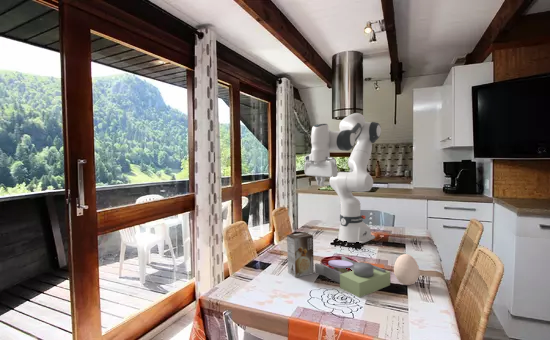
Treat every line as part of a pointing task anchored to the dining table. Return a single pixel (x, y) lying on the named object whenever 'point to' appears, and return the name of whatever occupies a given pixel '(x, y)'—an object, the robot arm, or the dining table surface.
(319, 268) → the chute mount
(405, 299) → the dining table surface
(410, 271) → the egg
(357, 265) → the green block with dome
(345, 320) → the dining table surface
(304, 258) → the coffee box
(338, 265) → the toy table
